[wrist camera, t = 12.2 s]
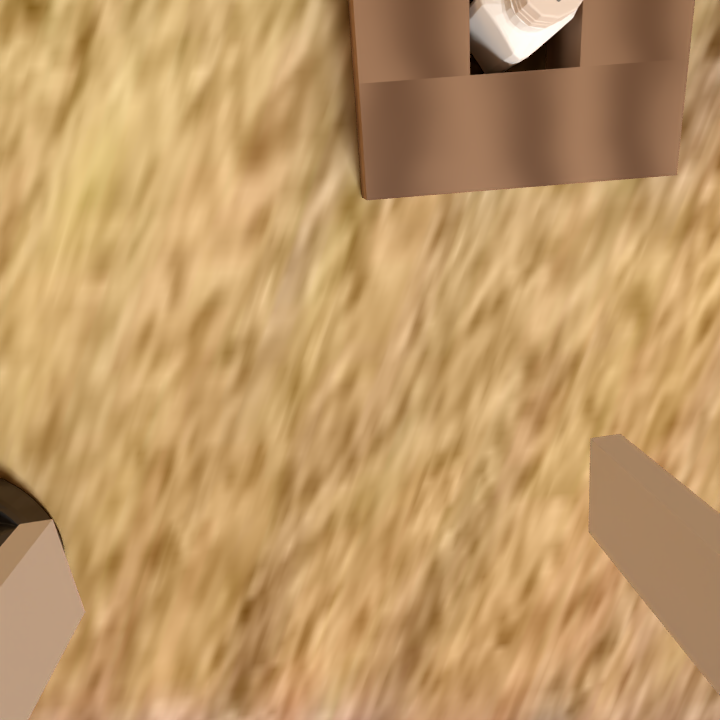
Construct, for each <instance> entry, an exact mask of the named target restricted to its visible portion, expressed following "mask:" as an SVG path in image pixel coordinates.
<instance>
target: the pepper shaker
mask: <svg viewBox="0 0 720 720" xmlns="http://www.w3.org/2000/svg"><path fill="white" fill-rule="evenodd" d="M582 1H583V0H473V2H472V3H471V4H470V6H469V23H470V52H471V53H472V55H473V56H474V58H475V59H476V61H477V62H478V64H479V65H480V67H481V68H482V70H483V71H484V73H485V74H493V73H503V72H505V71H506V70H508V69H509V68H511V67H513V66H514V65H516V64H517V63H519V62H521V61H522V60H524V59H525V58H527V57H528V56H530V55H531V54H532V53H533V52H534V51H536V50H537V49H538V48H539V47H540V46H542V45H543V44H544V43H545V42H546V41H547V40H549V39H550V38H551V37H552V36H553V35H554V34H555V33H557V32H558V31H559V30H560V29H561V28H562V27H564V26H565V25H566V24H567V23H568V22H569V21H570V20H571V19H572V18H573V17H574V15H575V13H576V11H577V8H578V7H579V5H580V4H581V3H582Z"/></svg>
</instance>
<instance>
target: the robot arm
mask: <svg viewBox="0 0 720 720" xmlns="http://www.w3.org/2000/svg"><path fill="white" fill-rule="evenodd" d="M589 533H590V534H591V535H592V537H593V538H594V539H595V540H596V542H597V543H598V544H599V545H600V547H601V548H602V549H603V550H604V552H605V553H606V554H607V555H608V557H609V558H610V559H611V560H612V562H613V563H614V564H615V565H616V567H617V568H618V569H619V570H620V572H621V573H622V574H623V575H624V577H625V578H626V579H627V580H628V582H629V583H630V584H631V585H632V587H633V588H634V589H635V590H636V592H637V593H638V594H639V595H640V597H641V598H642V599H643V600H644V602H645V603H646V604H647V605H648V607H649V608H650V609H651V610H652V612H653V613H654V614H655V615H656V617H657V618H658V619H659V620H660V622H661V623H662V624H663V625H664V627H665V628H666V629H667V630H668V632H669V633H670V634H671V635H672V637H673V638H674V639H675V640H676V642H677V643H678V644H679V645H680V647H681V648H682V649H683V650H684V652H685V653H686V654H687V655H688V657H689V658H690V659H691V660H692V662H693V663H694V664H695V665H696V667H697V668H698V669H699V670H700V672H701V673H702V674H703V675H704V677H705V678H706V679H707V680H708V682H709V683H710V684H711V685H712V687H713V688H714V689H715V690H716V691H717V693H718V694H719V695H720V514H719V513H718V512H717V511H716V510H714V509H713V508H712V507H711V506H709V505H708V504H707V503H706V502H704V501H703V500H702V499H701V498H699V497H698V496H697V495H696V494H694V493H693V492H692V491H691V490H690V489H688V488H687V487H686V486H685V485H683V484H682V483H681V482H680V481H678V480H677V479H676V478H675V477H673V476H672V475H671V474H670V473H668V472H667V471H666V470H665V469H663V468H662V467H661V466H660V465H658V464H657V463H656V462H655V461H653V460H652V459H651V458H650V457H648V456H647V455H646V454H645V453H644V452H642V451H641V450H640V449H639V448H637V447H636V446H635V445H634V444H632V443H631V442H630V441H629V440H627V439H626V438H625V437H624V436H622V435H621V434H616V435H609V436H603V437H596V438H590V487H589ZM84 613H85V610H84V607H83V604H82V602H81V599H80V596H79V593H78V590H77V587H76V584H75V582H74V579H73V576H72V573H71V570H70V567H69V565H68V562H67V559H66V556H65V553H64V548H63V544H62V541H61V538H60V535H59V533H58V531H57V529H56V527H55V525H54V522H53V519H50V517H49V516H48V515H47V513H46V512H45V511H44V510H43V509H42V507H41V506H40V505H39V504H38V503H37V502H36V501H34V500H33V499H32V498H31V497H30V496H29V495H27V494H26V493H25V492H23V491H22V490H20V489H19V488H18V487H16V486H14V485H13V484H11V483H9V482H7V481H5V480H3V479H1V478H0V720H28V719H29V717H30V715H31V713H32V711H33V709H34V708H35V706H36V704H37V702H38V700H39V698H40V696H41V694H42V692H43V690H44V689H45V687H46V685H47V683H48V681H49V679H50V677H51V675H52V673H53V672H54V670H55V668H56V666H57V664H58V662H59V660H60V658H61V656H62V654H63V653H64V651H65V649H66V647H67V645H68V643H69V641H70V639H71V637H72V635H73V634H74V632H75V630H76V628H77V626H78V624H79V622H80V620H81V618H82V617H83V615H84Z"/></svg>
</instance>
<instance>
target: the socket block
mask: <svg viewBox="0 0 720 720" xmlns="http://www.w3.org/2000/svg"><path fill="white" fill-rule="evenodd" d="M694 4H695V0H583V1H582V3H581V4H580V5H579V7H578V8H577V11H576V13H575V15H574V17H573V18H572V19H571V20H570V21H569V22H568V23H567V24H566V25H565V26H564V27H562V28H561V29H560V30H559V31H558V32H557V33H555V34H554V35H553V36H552V37H551V38H550V39H549V40H547V41H546V70H532V71H519V72H506V73H493V74H480V75H470V23H469V0H348V7H349V21H350V35H351V49H352V63H353V77H354V91H355V105H356V119H357V133H358V147H359V160H360V174H361V188H362V198H364V199H366V200H375V199H387V198H400V197H412V196H424V195H437V194H449V193H461V192H473V191H486V190H498V189H510V188H523V187H535V186H547V185H559V184H572V183H584V182H596V181H609V180H621V179H633V178H646V177H658V176H670V175H677V166H678V157H679V147H680V138H681V128H682V119H683V109H684V100H685V90H686V81H687V71H688V62H689V52H690V42H691V33H692V23H693V14H694Z"/></svg>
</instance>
